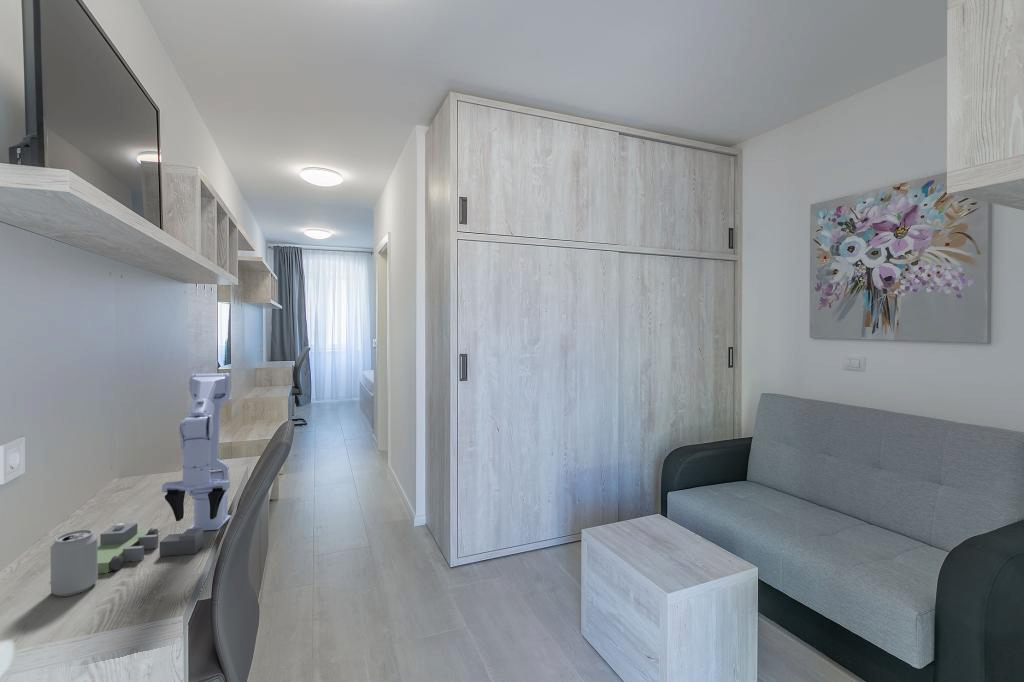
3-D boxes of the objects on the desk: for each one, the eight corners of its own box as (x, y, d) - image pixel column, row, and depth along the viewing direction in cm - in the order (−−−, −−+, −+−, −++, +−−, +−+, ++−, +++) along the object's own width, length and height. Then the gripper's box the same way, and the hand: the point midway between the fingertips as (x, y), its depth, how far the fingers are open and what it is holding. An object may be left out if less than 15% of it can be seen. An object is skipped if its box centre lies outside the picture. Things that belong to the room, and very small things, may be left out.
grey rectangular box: (168, 548, 121) (168, 530, 120) (203, 545, 122) (203, 528, 122) (159, 556, 116) (159, 537, 116) (195, 553, 118) (195, 535, 118)
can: (62, 582, 104) (62, 529, 104) (104, 577, 107) (103, 525, 106) (42, 601, 97) (42, 544, 97) (87, 594, 100) (87, 539, 99)
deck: (108, 541, 124) (108, 518, 124) (169, 537, 127) (169, 514, 127) (55, 577, 106) (55, 550, 106) (127, 571, 109) (127, 545, 109)
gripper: (154, 470, 111) (155, 527, 111) (221, 468, 113) (221, 523, 114) (170, 462, 118) (170, 515, 118) (233, 460, 120) (233, 512, 121)
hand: (196, 518), depth 116 cm, fingers open, 7 cm apart
